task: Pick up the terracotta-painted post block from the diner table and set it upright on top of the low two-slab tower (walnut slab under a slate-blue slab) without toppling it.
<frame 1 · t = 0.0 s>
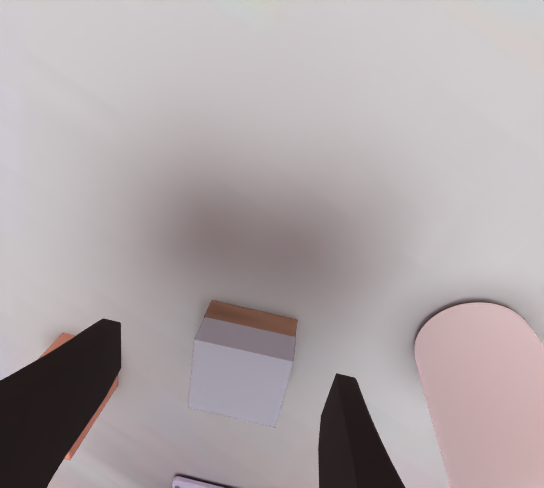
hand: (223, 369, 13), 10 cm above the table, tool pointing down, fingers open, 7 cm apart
tower upper: (244, 361, 24), point 2 cm above the table, touching tower lower
tower lower: (249, 339, 26), on the table, touching tower upper
brick block: (91, 359, 28), on the table
can: (468, 340, 23), on the table
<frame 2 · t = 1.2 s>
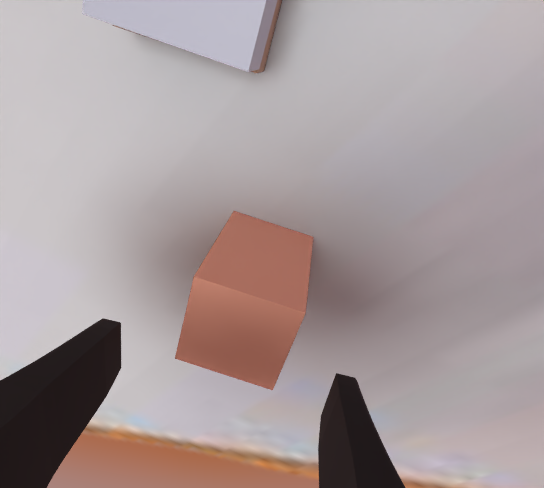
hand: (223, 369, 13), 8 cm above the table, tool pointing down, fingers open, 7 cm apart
brick block: (262, 258, 19), on the table
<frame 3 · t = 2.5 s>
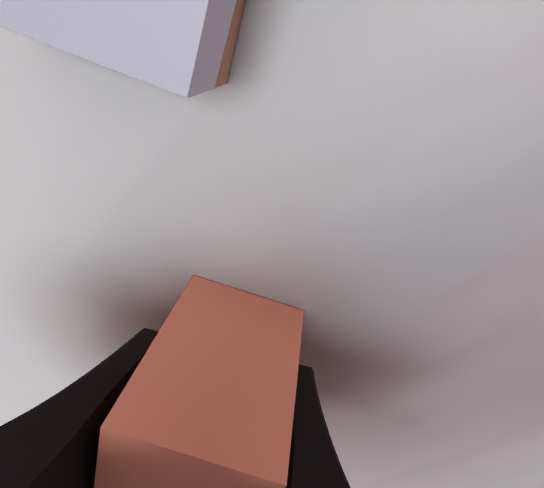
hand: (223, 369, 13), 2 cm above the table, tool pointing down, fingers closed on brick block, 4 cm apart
brick block: (235, 335, 14), on the table, touching gripper
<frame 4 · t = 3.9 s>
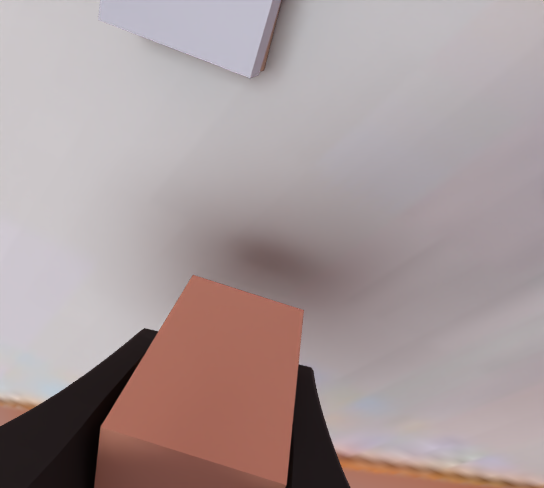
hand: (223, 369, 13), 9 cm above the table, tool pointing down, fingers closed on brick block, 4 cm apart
brick block: (235, 335, 14), point 7 cm above the table, touching gripper
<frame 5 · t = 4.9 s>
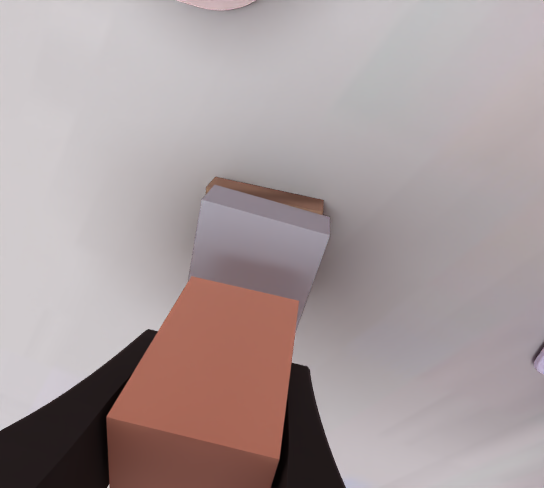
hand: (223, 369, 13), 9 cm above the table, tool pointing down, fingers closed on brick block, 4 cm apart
tower upper: (258, 251, 19), point 2 cm above the table, touching tower lower
tower lower: (261, 233, 21), on the table, touching tower upper
brick block: (237, 330, 15), point 7 cm above the table, touching gripper
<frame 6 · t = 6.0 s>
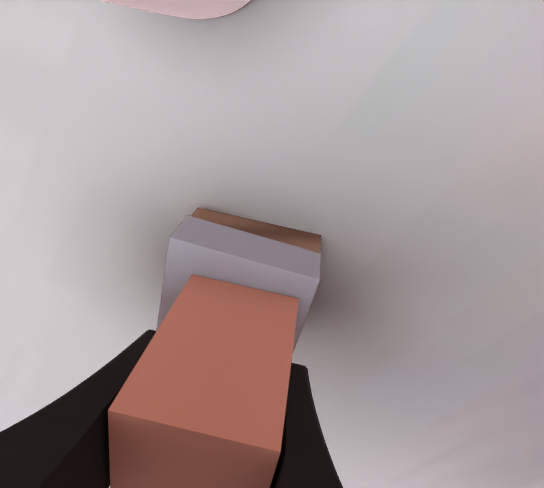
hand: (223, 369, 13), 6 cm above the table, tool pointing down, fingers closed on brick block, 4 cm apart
tower upper: (240, 289, 16), point 2 cm above the table, touching tower lower
tower lower: (251, 269, 18), on the table, touching tower upper
brick block: (237, 328, 15), point 4 cm above the table, touching gripper
when the fingers open (6 cm above the table, at t = 6.1 s): brick block stays where it is, resting on tower upper.
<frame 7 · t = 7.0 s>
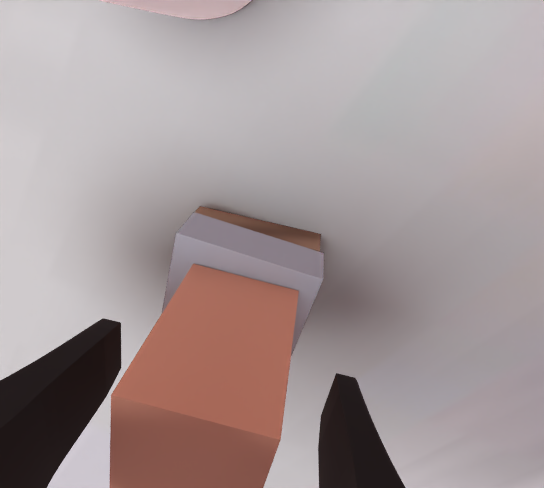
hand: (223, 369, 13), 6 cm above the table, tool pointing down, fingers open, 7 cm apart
tower upper: (242, 286, 17), point 2 cm above the table, touching brick block, tower lower
tower lower: (251, 267, 19), on the table, touching tower upper
brick block: (236, 318, 15), point 4 cm above the table, touching tower upper
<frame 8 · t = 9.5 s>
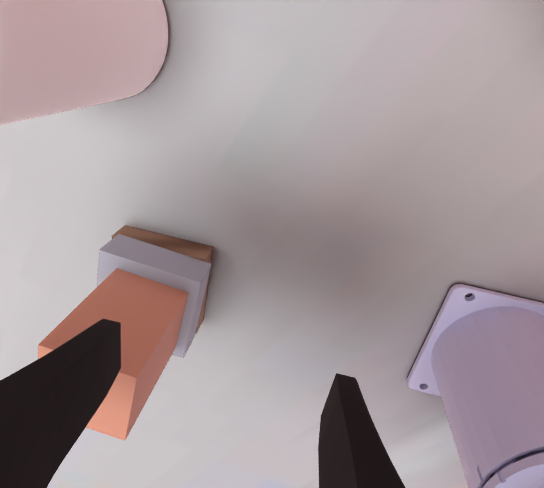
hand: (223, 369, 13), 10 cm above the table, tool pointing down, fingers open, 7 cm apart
tower upper: (158, 287, 23), point 1 cm above the table, touching brick block, tower lower
tower lower: (169, 270, 25), on the table, touching tower upper
brick block: (147, 309, 21), point 3 cm above the table, touching tower upper
can: (109, 26, 18), on the table
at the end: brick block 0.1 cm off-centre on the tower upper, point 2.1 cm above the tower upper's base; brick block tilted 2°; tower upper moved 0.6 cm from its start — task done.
